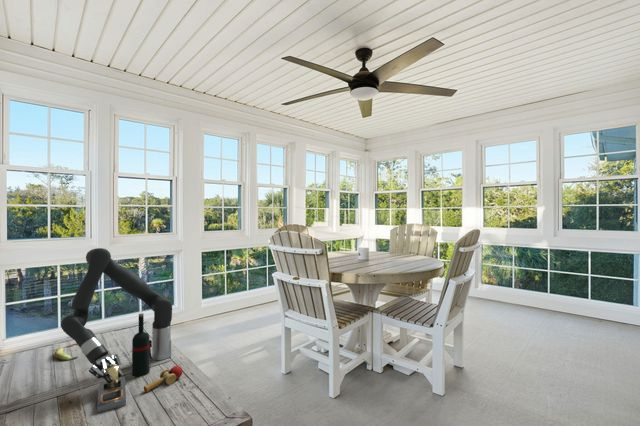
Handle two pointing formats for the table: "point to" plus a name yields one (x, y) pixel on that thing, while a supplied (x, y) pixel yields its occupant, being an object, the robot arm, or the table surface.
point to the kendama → (166, 377)
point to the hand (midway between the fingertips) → (116, 378)
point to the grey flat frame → (111, 396)
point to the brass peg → (113, 376)
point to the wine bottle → (141, 351)
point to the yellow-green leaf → (61, 355)
